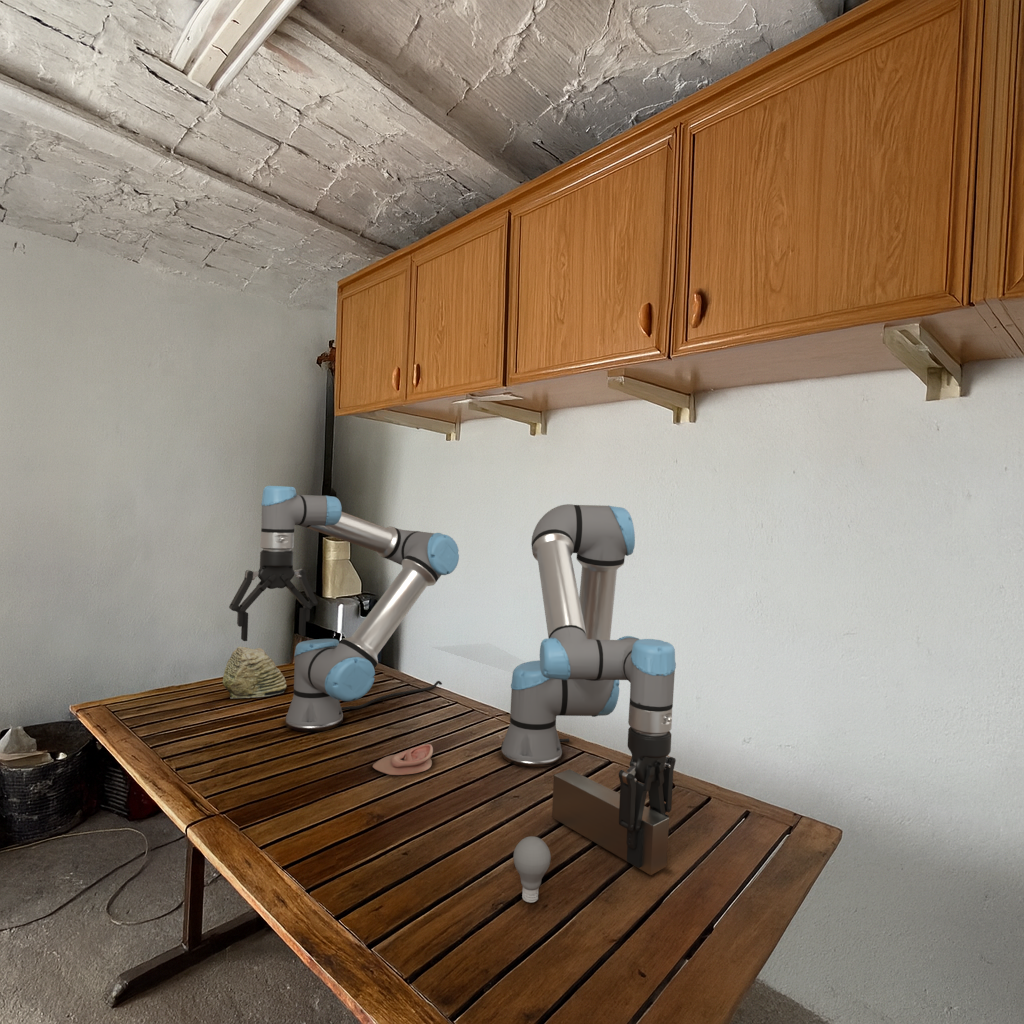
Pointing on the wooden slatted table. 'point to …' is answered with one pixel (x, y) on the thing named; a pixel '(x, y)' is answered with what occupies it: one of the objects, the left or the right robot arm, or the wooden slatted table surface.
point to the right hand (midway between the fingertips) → (643, 858)
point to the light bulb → (531, 865)
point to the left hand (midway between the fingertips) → (273, 637)
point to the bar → (607, 819)
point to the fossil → (252, 674)
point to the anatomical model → (406, 761)
